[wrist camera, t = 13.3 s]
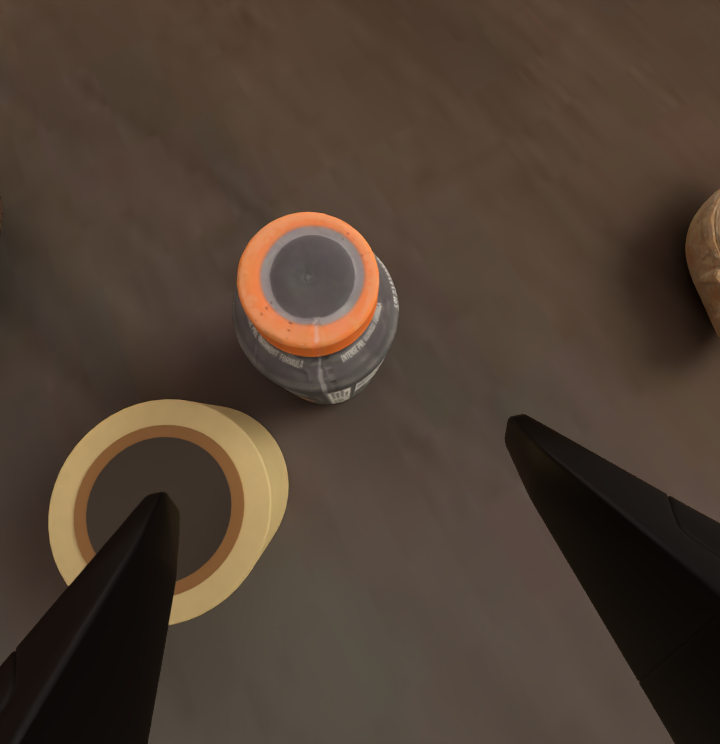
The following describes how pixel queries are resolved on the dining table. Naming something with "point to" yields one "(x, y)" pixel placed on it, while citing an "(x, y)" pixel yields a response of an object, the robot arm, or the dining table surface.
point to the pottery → (0, 213)
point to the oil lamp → (706, 256)
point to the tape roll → (175, 493)
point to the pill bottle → (314, 307)
